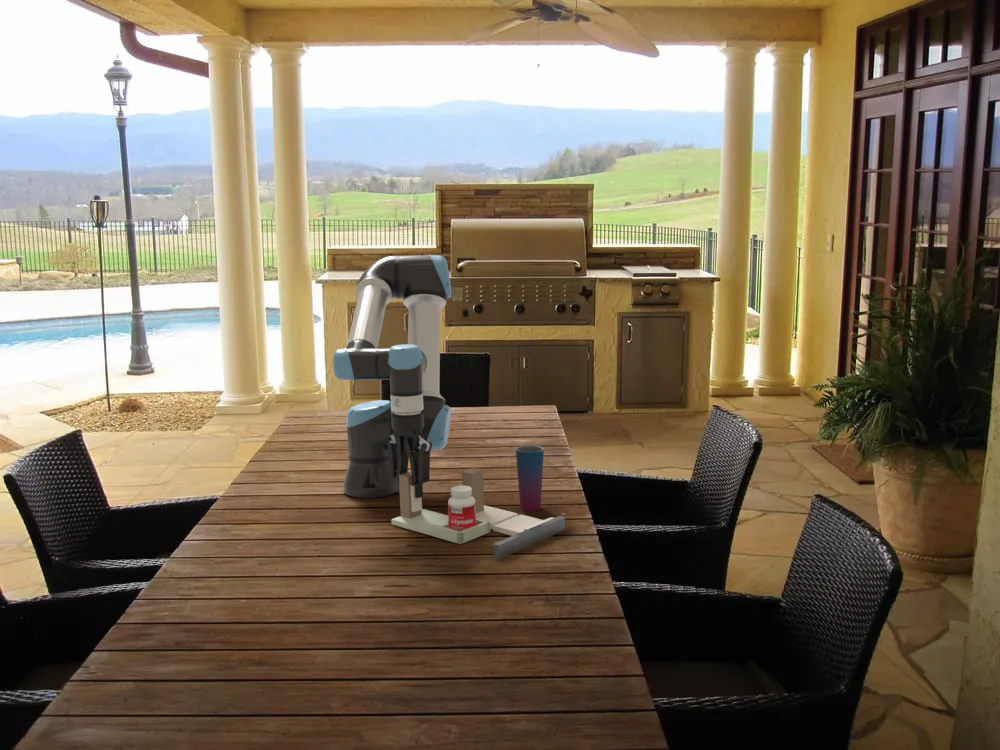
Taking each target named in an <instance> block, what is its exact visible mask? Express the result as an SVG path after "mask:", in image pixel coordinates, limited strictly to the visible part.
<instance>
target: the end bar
mask: <svg viewBox="0 0 1000 750" xmlns="http://www.w3.org/2000/svg"><path fill="white" fill-rule="evenodd" d="M565 521H566V518H565V516H562V515H559V516H556V517H554V518H553V519H551V520H549V521H546V522H544V523H542V524H539V525H537V526H535V527H532V528H530V529H527V530H525V531H523V532H520V533H518V534H516V535H513V536H511V535H510V537H506V538H504V539H502V540H500V541H497V542H495V543H493V545H492V546H493V558H494V559H497V560H501V559H503V558H505V557H507V556H509V555H511V554H512V555H513V554H514V553H516V552H518V551H521V550H523V549H525V548H527V547H530V546H531V545H534V544H536V543H539V542H541V541H542V540H543V541H544V540H545V539H547V538H550V537H552V536H554V535H556V534H559V533H560V532H563V531H565V530H566V526H565V525H566V522H565Z"/></svg>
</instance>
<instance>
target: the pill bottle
mask: <svg viewBox="0 0 1000 750" xmlns="http://www.w3.org/2000/svg"><path fill="white" fill-rule="evenodd" d="M450 495H451V497H449V498H448V500H447V501H448V502H447V510H448V511H447V512H448V513H447V515H448V523H449V529H452V530H456V531H463V530H465V529H468V528H470V527H473V526H475V525H476V505H475V499H474V498H473V497H472V496H471V495H472V488H471V487H469V486H463V485H455V486H452V487H451V488H450Z"/></svg>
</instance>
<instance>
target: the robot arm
mask: <svg viewBox="0 0 1000 750" xmlns="http://www.w3.org/2000/svg"><path fill="white" fill-rule="evenodd" d="M448 265H449V264H448V262H447V259H446V257H444V256H442V255H437V254H432V255H431V254H425V255H422V254H421V255H419V254H418V255H389V256H385V257H383V258H380V259H378V260H377V261H375V262H374V263H372V264H371V265H370V266H368V267H367V268H366V269H365V270H364V272H363V273H362V274H361V276H360V278H359V279H358V281H357V284H356V288H355V296H356V298H357V301H356V304H355V305H356V306H355V309H354V312H353V313H354V314H353V318H352V321H351V327H350V330H349V335H348V339H347V343H346V347H345V348H344V347H343V348H341V349H340V348H339V349H336V350H335V351H334V354H333V361H332V364H333V365H332V366H333V372H334V373H333V374H334V376H335V378H336V379H337V380H340V381H342V380H343V381H353V382H354V381H369V380H370V381H371V380H374V381H375V380H377V381H378V380H382V381H383V380H389V385H390V387H389V388H390V392H389V394H390V400H388V399H387V400H386V399H385V400H384V399H380V400H378V399H377V400H372V401H366V402H361V403H359V404H356V405H353V406H352V407H350V408H349V409H348V411H347V413H346V425H345V427H346V430H347V431H346V432H347V447H348V448H347V449H348V464H347V465H348V466H347V469H346V475H345V479H344V480H343V483H342V485H343V493H344V494H345V495H347V496H350V497H352V498H360V499H361V498H362V499H363V498H365V499H367V498H368V499H371V498H372V499H373V498H381V497H389V496H391V495H394V494H397V493H398V494H399V495H400V485H399V475H401V474H404V473H407V472H409V464H410V472H411V473H412V480H413V483H411V485H410V487H411V512H416V511H419V510H421V509H423V502H422V498H423V497H424V492H423V491H424V488H423V487H424V483H428V482H429V481H430V470H431V469H430V468H431V467H430V466H431V464H430V462H431V451H441V450H444V449H445V447H446V446H447V444H448V439H449V434H450V427H451V416H452V413H451V412H452V411H451V407H450V406H449V405H447V404H446V399H445V398H444V397H443V396H442V395H441V393H440V379H441V377H440V374H441V373H440V371H441V370H440V369H441V368H440V367H441V365H440V364H441V363H440V362H441V361H440V360H441V310H442V309H443V308H444V307H446V305H447V299H450V298H452V285H451V279H450V278H451V277H450V272H449V267H448ZM393 299H402V304H403V305H404V306H405V307H406V308H407V309H408V317H407V318H408V323H407V328H408V329H407V330H408V331H407V343H406V344H405V343H404V344H395V345H392V346H391V347H389V348H387V347H386V348H382V347H381V348H379V344H380V337H381V333H382V332H381V331H382V327H383V322H384V317H385V312H386V307H387V305H388V304H389V303H390V302H391V300H393Z"/></svg>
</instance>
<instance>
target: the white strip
mask: <svg viewBox="0 0 1000 750" xmlns="http://www.w3.org/2000/svg"><path fill="white" fill-rule="evenodd" d="M553 518H555V517H553V516H552V517H548V518H546V519H540V518H536V517H532V516H529V515H525V514H518V516H516V517H513V518H511V519H508V520H506V521H504V522H501V523H499V524H496V525H494V526H493V529H492V530H493V532H496V533H501V534H504V535H508V536H510V537H511V536H513V535H516V534H518V533H520V532H523V531H525V530H527V529H530V528H532V527H535V526H537V525H539V524H542V523H544V522H546V521H549V520H551V519H553Z"/></svg>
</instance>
